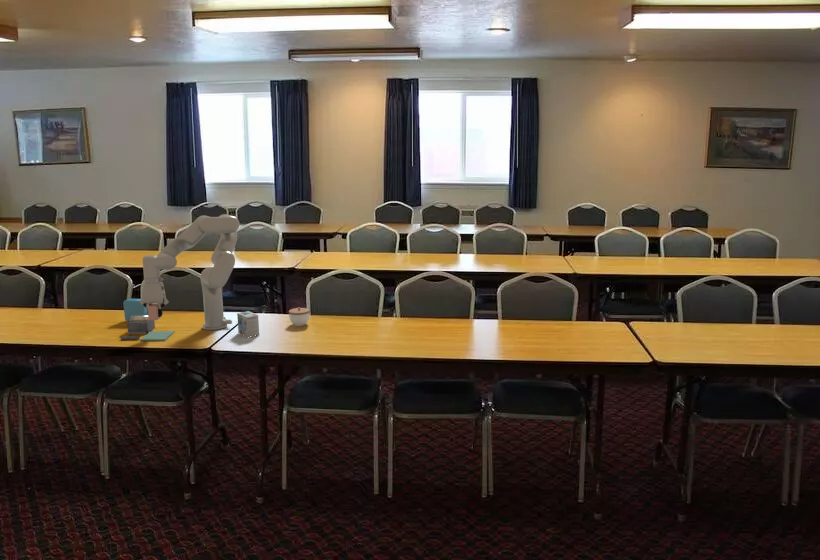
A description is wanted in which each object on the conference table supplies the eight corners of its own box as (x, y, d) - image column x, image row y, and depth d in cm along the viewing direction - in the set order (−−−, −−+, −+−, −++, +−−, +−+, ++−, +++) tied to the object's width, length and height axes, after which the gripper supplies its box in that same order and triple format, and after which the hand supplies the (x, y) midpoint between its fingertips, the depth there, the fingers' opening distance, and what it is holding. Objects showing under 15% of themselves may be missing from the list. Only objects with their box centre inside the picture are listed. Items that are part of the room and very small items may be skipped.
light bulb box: (238, 333, 334) (236, 312, 331) (250, 331, 338) (248, 310, 336) (247, 338, 326) (246, 317, 323) (260, 335, 330) (258, 314, 328)
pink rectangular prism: (162, 316, 331) (161, 302, 329) (157, 320, 324) (155, 306, 322) (153, 316, 330) (152, 302, 329) (148, 320, 324) (147, 306, 322)
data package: (149, 320, 360) (147, 299, 357) (145, 322, 355) (142, 301, 353) (130, 319, 362) (127, 298, 359) (125, 321, 357) (122, 300, 355)
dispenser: (155, 328, 344) (153, 313, 343) (140, 339, 325) (138, 323, 323) (136, 328, 344) (134, 313, 342) (119, 340, 325) (118, 324, 323)
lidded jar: (285, 326, 345) (285, 309, 343) (295, 321, 355) (294, 304, 353) (304, 328, 342) (303, 310, 340) (313, 322, 352) (312, 305, 350)
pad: (174, 332, 336) (174, 331, 336) (165, 340, 323) (164, 339, 322) (151, 332, 336) (151, 331, 336) (140, 341, 322) (140, 339, 322)
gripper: (172, 278, 327) (174, 314, 331) (138, 278, 327) (141, 314, 331) (166, 281, 320) (169, 318, 323) (132, 282, 319) (135, 318, 323)
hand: (155, 316), depth 327 cm, fingers closed on pink rectangular prism, 4 cm apart
